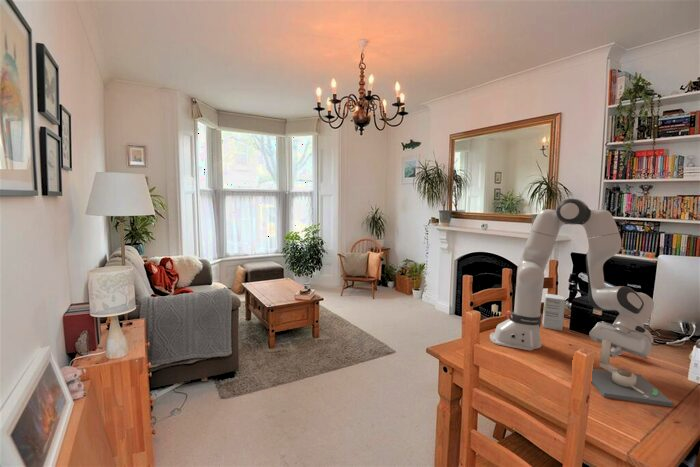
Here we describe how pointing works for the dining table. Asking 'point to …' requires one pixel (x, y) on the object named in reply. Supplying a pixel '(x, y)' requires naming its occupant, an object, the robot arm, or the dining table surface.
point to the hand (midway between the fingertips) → (609, 355)
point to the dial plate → (628, 389)
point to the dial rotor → (618, 375)
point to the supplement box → (553, 312)
